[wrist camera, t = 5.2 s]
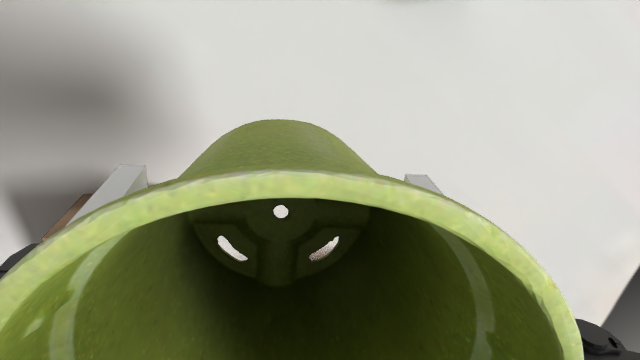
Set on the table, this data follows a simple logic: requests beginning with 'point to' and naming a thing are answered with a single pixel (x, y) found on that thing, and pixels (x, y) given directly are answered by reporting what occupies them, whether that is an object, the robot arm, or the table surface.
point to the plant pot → (283, 269)
